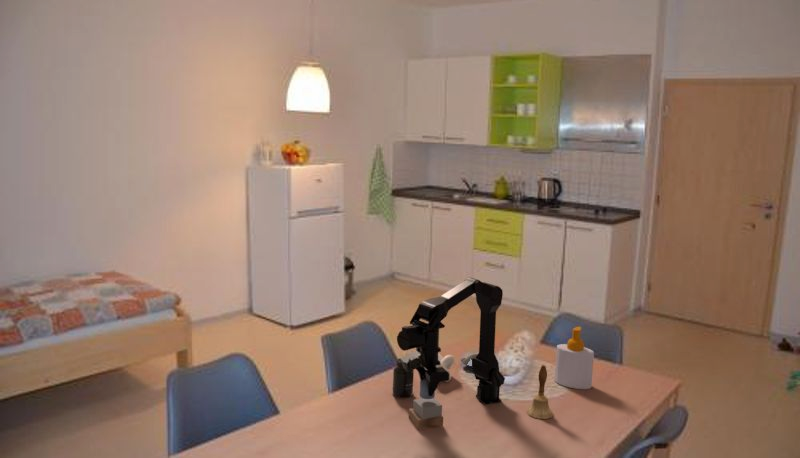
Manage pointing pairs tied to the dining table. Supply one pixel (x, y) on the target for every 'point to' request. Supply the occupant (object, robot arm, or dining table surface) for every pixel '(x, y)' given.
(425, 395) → the grey rounded cylinder
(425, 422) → the walnut slab
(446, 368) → the white knot sculpture
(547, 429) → the dining table surface
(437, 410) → the grey slab
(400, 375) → the supplement bottle
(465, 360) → the seashell
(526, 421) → the dining table surface
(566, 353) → the soap bottle
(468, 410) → the dining table surface
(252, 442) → the dining table surface
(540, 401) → the hand bell
